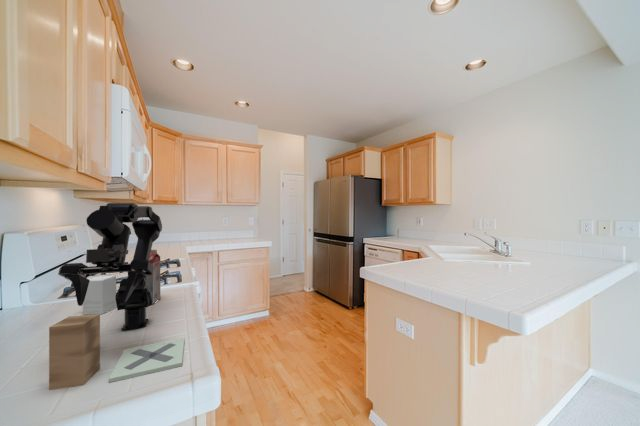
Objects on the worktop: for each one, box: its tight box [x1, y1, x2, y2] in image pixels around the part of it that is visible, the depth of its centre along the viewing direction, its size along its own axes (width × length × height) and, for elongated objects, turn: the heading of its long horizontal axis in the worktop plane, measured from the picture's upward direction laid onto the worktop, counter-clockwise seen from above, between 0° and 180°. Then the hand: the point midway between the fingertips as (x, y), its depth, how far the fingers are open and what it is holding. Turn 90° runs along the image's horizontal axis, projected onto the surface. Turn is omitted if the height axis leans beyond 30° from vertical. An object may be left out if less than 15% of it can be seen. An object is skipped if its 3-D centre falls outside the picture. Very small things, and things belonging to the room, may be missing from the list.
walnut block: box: [48, 314, 101, 391], centre depth 58 cm, size 6×6×13 cm
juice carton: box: [145, 249, 161, 304], centre depth 108 cm, size 7×7×22 cm
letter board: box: [108, 337, 185, 383], centre depth 65 cm, size 14×14×1 cm
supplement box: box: [82, 275, 117, 315], centre depth 99 cm, size 7×7×13 cm
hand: (102, 303), depth 64 cm, fingers open, 9 cm apart
